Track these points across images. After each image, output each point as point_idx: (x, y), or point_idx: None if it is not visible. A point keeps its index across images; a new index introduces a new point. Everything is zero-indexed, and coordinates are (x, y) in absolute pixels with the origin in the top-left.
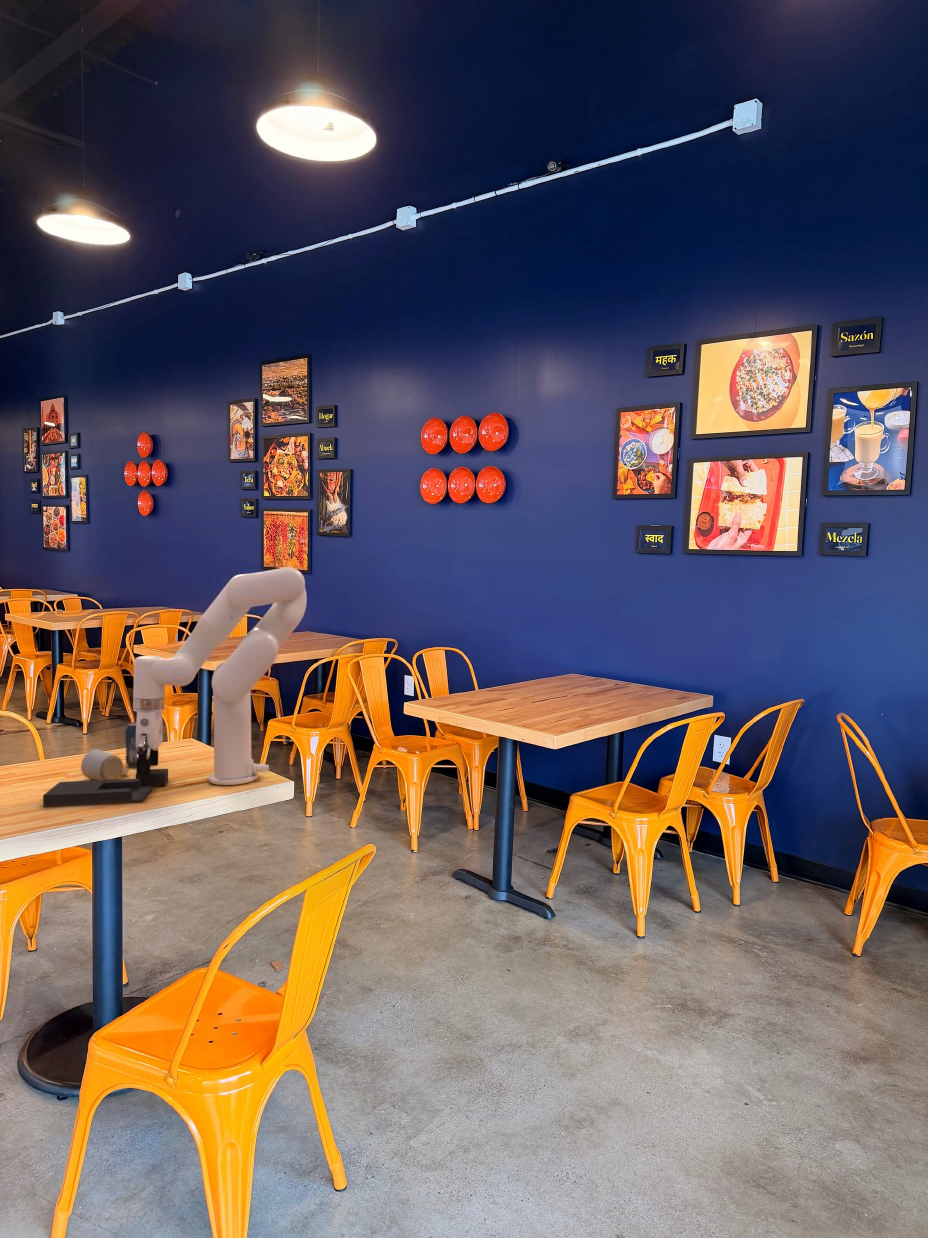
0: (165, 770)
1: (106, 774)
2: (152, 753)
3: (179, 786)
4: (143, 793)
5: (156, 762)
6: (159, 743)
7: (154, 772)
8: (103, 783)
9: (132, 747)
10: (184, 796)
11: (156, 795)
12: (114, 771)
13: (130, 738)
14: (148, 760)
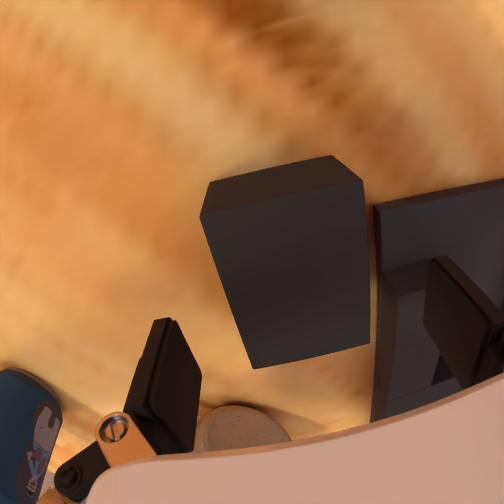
0: (266, 209)
1: (278, 437)
2: (172, 414)
3: (314, 65)
4: (497, 202)
5: (171, 336)
6: (371, 472)
7: (333, 264)
8: (431, 384)
9: (41, 460)
10: (486, 8)
11: (477, 143)
12: (243, 434)
13: (35, 491)
14: (499, 323)
